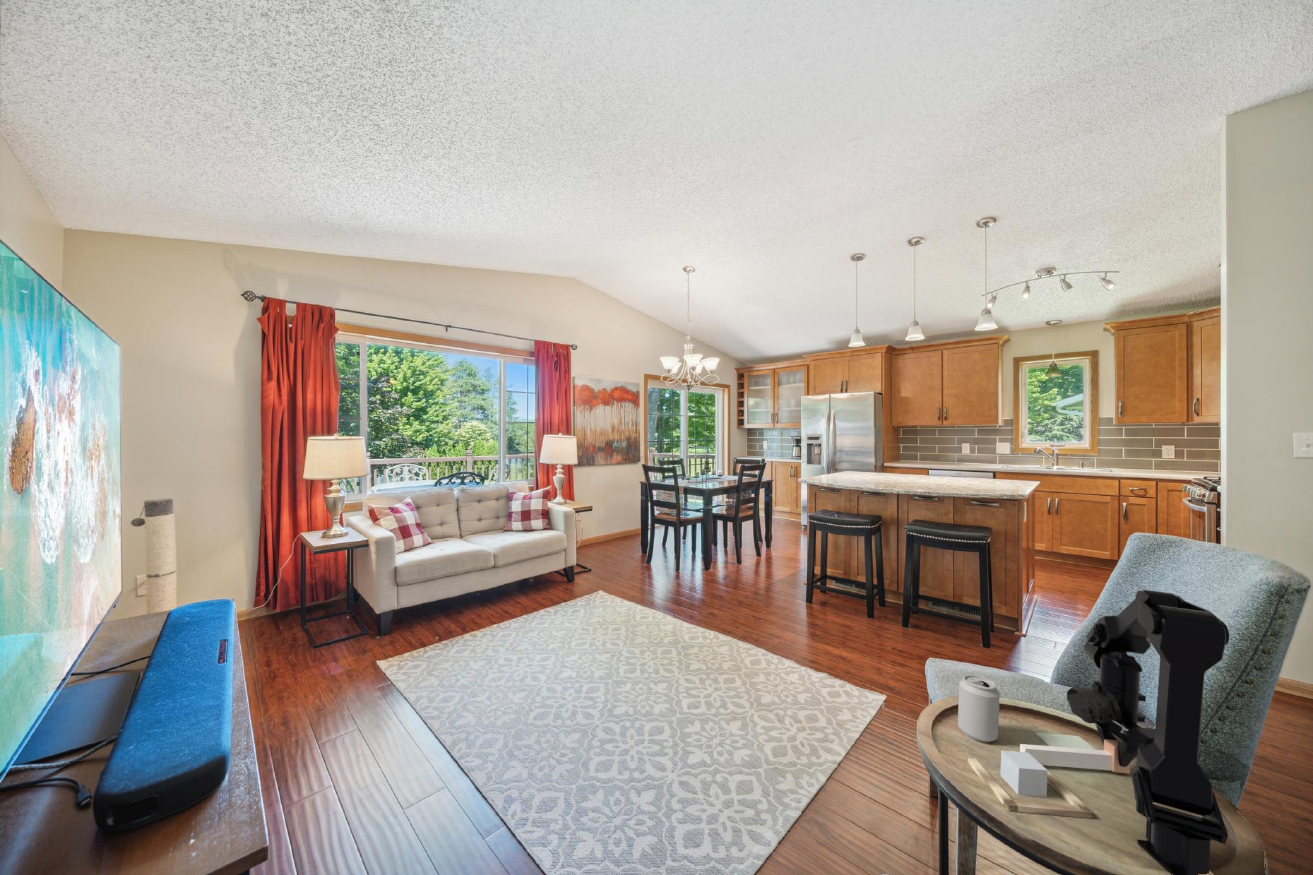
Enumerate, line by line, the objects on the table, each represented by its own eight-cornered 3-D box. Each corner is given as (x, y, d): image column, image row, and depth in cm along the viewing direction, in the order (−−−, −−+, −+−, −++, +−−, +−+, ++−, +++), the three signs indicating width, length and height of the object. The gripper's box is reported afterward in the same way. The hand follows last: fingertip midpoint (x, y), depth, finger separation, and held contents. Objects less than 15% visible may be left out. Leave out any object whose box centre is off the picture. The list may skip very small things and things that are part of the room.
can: (1004, 747, 102) (1006, 691, 102) (966, 741, 103) (968, 686, 103) (988, 726, 109) (989, 674, 109) (952, 721, 110) (953, 670, 111)
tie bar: (1129, 773, 94) (1130, 748, 94) (1026, 765, 95) (1027, 740, 95) (1118, 765, 96) (1119, 740, 96) (1018, 757, 98) (1018, 732, 98)
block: (1046, 797, 88) (1047, 770, 88) (1018, 794, 88) (1018, 768, 88) (1027, 778, 92) (1028, 752, 92) (1000, 775, 93) (1001, 750, 93)
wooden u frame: (1093, 818, 83) (1093, 812, 83) (1008, 811, 84) (1009, 805, 84) (1040, 768, 95) (1040, 763, 95) (967, 762, 96) (967, 757, 96)
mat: (1114, 765, 97) (1114, 763, 97) (1067, 761, 98) (1067, 759, 98) (1078, 737, 106) (1078, 735, 106) (1036, 734, 107) (1036, 732, 107)
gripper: (1042, 659, 105) (1039, 730, 105) (1119, 707, 86) (1115, 792, 86) (1095, 663, 104) (1093, 733, 104) (1184, 711, 86) (1181, 798, 86)
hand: (1116, 761), depth 95 cm, fingers closed on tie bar, 2 cm apart
